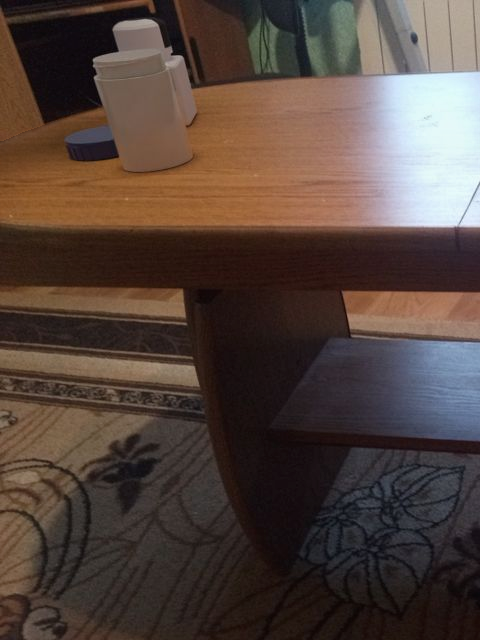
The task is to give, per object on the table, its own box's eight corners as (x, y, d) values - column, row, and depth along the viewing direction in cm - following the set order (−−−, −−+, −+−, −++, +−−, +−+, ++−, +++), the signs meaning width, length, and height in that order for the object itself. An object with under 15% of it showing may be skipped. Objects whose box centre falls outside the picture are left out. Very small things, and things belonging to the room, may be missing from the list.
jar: (107, 172, 75) (71, 63, 70) (147, 151, 81) (117, 49, 76) (170, 172, 74) (138, 61, 68) (205, 150, 80) (179, 47, 74)
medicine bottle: (141, 118, 95) (111, 18, 89) (198, 112, 96) (172, 12, 90) (130, 132, 89) (97, 26, 83) (191, 126, 90) (163, 19, 84)
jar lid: (152, 148, 82) (147, 131, 81) (79, 165, 78) (73, 148, 77) (131, 136, 87) (126, 120, 86) (62, 151, 83) (56, 135, 82)
